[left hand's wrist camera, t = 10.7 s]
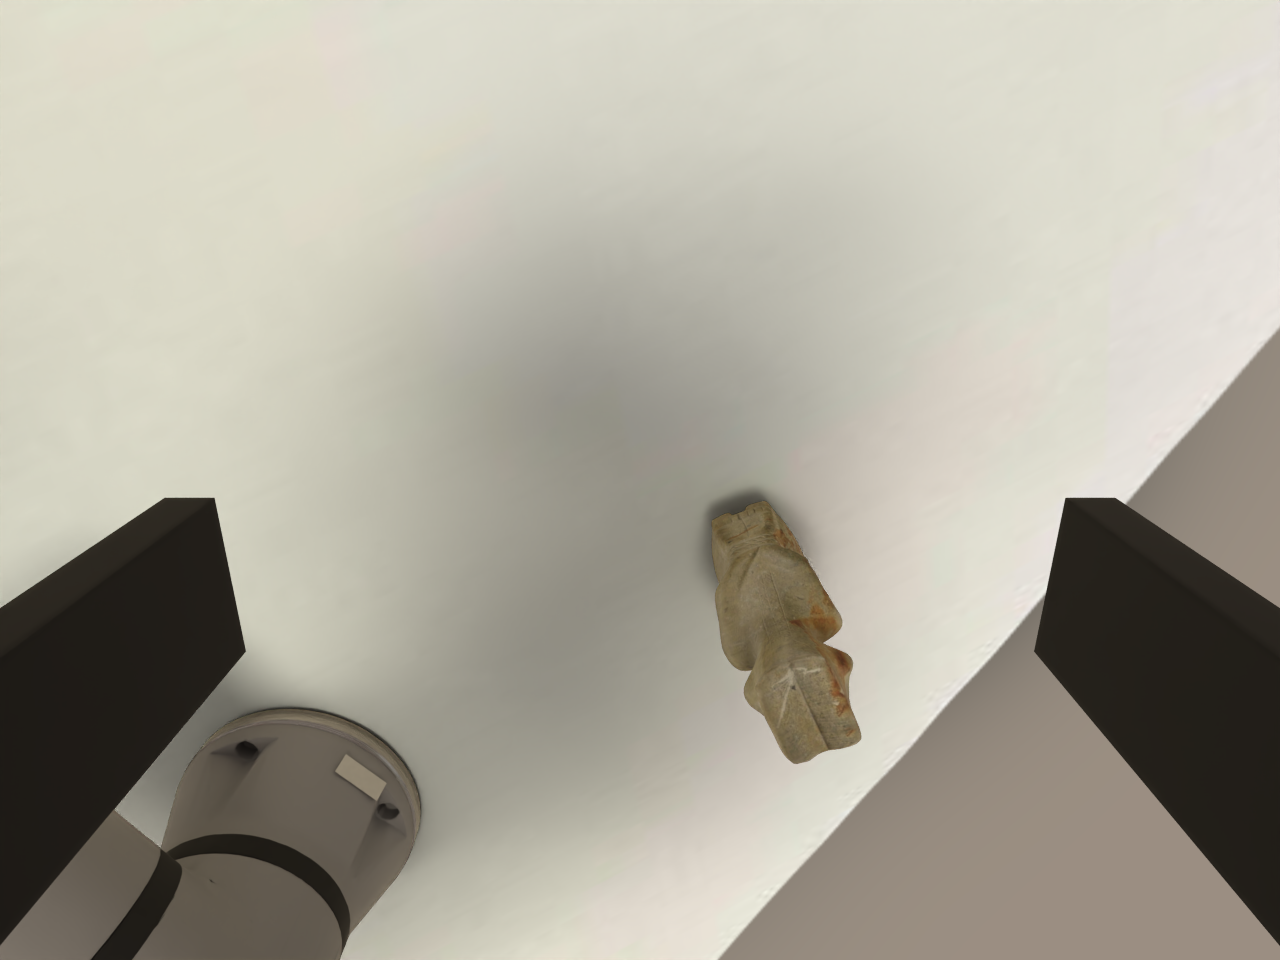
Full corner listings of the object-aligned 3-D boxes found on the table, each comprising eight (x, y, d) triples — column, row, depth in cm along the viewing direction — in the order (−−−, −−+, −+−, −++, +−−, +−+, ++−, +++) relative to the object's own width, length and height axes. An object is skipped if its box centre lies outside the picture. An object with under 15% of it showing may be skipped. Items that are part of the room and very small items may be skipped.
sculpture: (725, 612, 48) (760, 791, 34) (687, 508, 46) (708, 654, 32) (818, 583, 47) (893, 754, 33) (785, 476, 45) (851, 611, 31)
